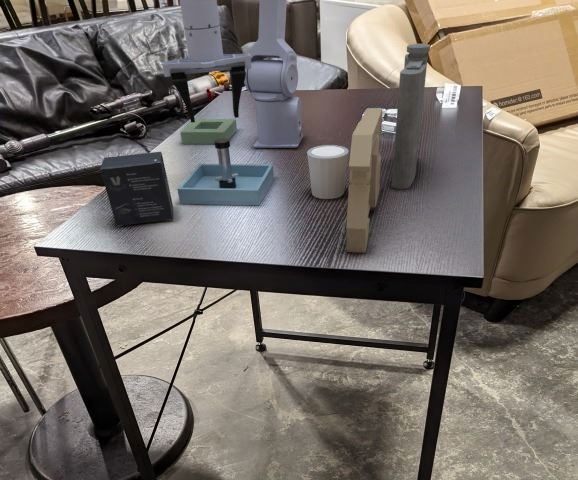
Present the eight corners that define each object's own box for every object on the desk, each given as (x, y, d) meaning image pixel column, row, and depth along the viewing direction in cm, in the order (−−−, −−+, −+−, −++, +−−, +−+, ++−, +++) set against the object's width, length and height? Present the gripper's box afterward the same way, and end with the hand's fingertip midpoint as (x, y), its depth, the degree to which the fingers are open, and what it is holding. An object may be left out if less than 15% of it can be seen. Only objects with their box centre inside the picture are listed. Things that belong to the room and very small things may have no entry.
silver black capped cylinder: (235, 181, 96) (229, 135, 91) (242, 189, 93) (237, 141, 88) (213, 186, 95) (206, 139, 90) (220, 193, 92) (213, 146, 87)
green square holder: (237, 130, 122) (235, 118, 120) (225, 144, 115) (223, 132, 113) (196, 130, 124) (194, 118, 122) (182, 144, 116) (180, 132, 115)
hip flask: (397, 157, 102) (407, 36, 89) (418, 158, 102) (431, 35, 88) (390, 189, 91) (401, 54, 78) (414, 189, 90) (429, 54, 77)
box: (174, 207, 90) (162, 150, 84) (173, 221, 86) (161, 161, 80) (119, 214, 89) (103, 156, 83) (116, 227, 85) (98, 168, 79)
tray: (274, 178, 98) (273, 164, 96) (259, 205, 89) (257, 190, 87) (201, 177, 100) (199, 163, 98) (179, 203, 91) (177, 188, 89)
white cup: (308, 186, 94) (307, 145, 89) (346, 184, 94) (347, 143, 89) (308, 201, 89) (306, 158, 84) (348, 199, 88) (349, 156, 84)
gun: (366, 257, 73) (373, 140, 64) (343, 256, 73) (346, 140, 65) (379, 202, 92) (385, 106, 83) (360, 201, 93) (364, 106, 84)
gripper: (155, 34, 80) (173, 129, 89) (249, 25, 81) (258, 120, 90) (156, 28, 85) (173, 118, 94) (244, 19, 87) (253, 109, 96)
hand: (214, 118), depth 93 cm, fingers open, 7 cm apart
